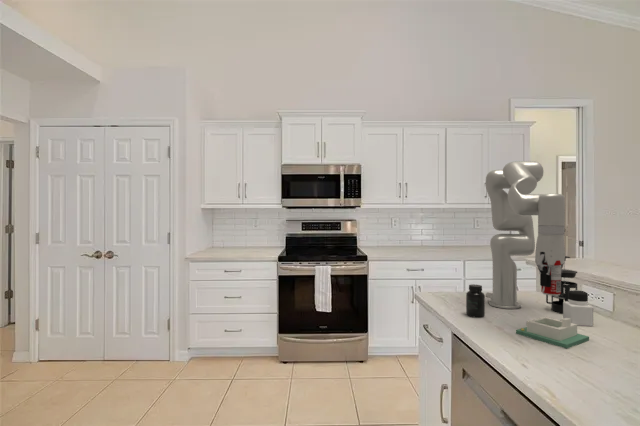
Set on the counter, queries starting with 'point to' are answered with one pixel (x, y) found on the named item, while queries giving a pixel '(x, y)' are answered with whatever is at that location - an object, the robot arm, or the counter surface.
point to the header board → (553, 332)
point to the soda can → (554, 280)
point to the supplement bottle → (475, 301)
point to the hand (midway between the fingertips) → (550, 284)
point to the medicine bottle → (578, 308)
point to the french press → (563, 290)
